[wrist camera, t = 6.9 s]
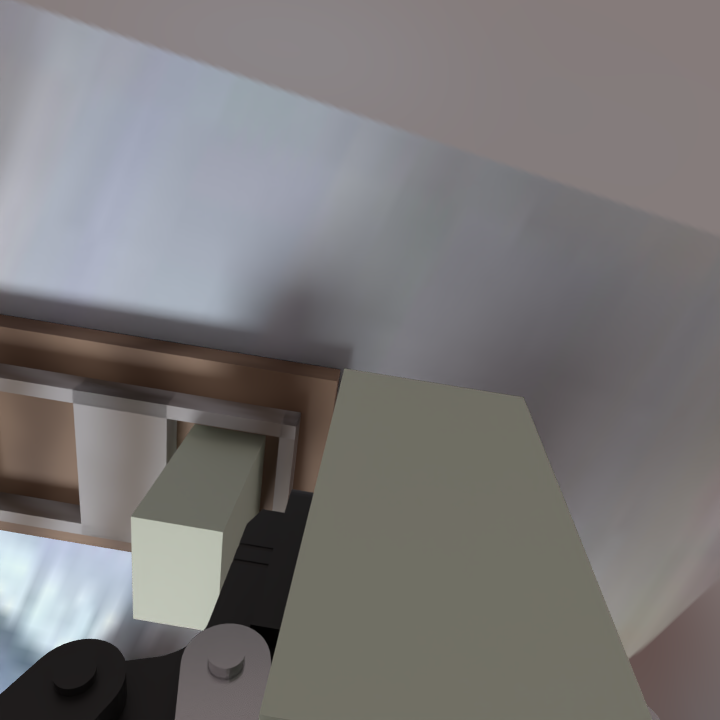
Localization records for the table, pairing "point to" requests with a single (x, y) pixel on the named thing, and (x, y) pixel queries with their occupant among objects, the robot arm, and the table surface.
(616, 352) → the table surface
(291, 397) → the tray
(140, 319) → the table surface
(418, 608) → the loose block
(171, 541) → the block
